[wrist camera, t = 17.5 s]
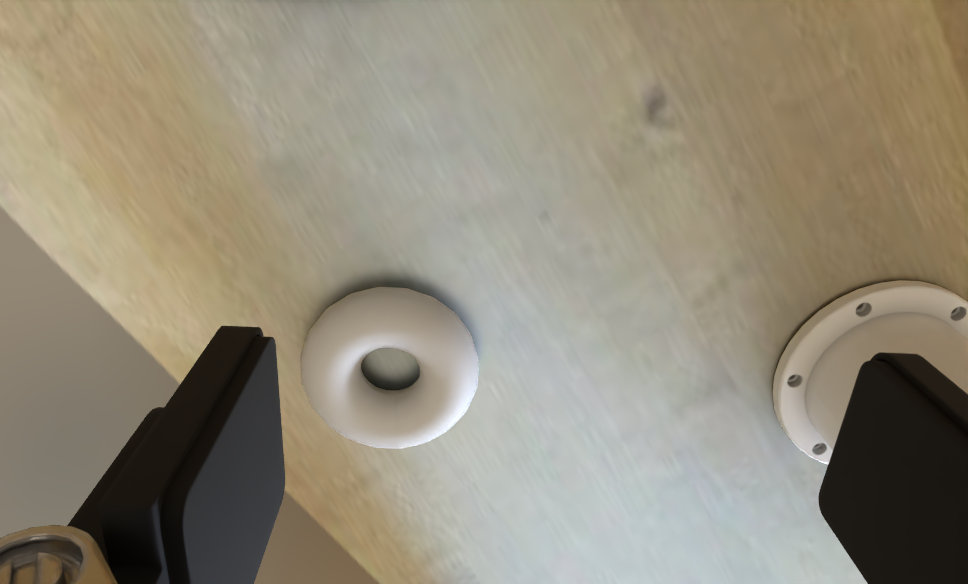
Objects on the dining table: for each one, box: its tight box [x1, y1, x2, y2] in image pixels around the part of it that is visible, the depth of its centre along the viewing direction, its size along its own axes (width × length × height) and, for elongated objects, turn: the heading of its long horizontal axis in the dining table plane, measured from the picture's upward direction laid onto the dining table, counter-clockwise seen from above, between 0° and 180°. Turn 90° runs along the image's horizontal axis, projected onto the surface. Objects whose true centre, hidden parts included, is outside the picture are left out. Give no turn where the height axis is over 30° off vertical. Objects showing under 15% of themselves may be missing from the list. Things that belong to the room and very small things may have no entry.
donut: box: [301, 287, 479, 449], centre depth 39 cm, size 10×3×10 cm
